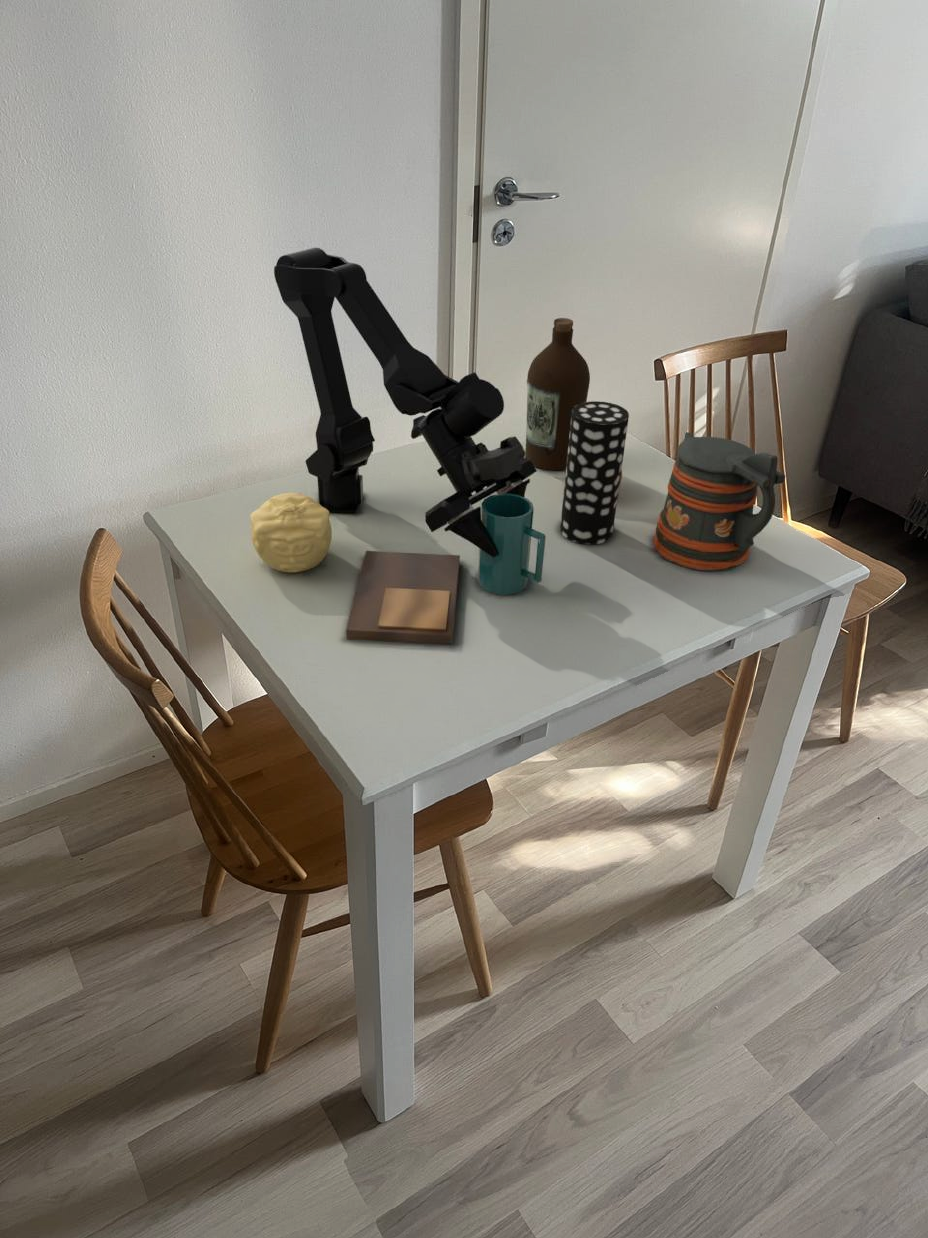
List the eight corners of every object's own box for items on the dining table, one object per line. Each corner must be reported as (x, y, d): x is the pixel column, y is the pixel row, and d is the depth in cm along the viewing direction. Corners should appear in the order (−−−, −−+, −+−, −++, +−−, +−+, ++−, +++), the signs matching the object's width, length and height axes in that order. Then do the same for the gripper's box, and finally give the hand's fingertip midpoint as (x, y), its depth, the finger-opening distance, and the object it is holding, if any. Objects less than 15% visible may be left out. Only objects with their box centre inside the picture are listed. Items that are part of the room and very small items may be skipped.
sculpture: (254, 585, 138) (246, 519, 131) (256, 541, 147) (249, 478, 141) (334, 580, 139) (331, 515, 133) (331, 537, 149) (328, 475, 142)
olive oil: (548, 440, 179) (559, 305, 165) (593, 459, 173) (609, 321, 159) (509, 457, 173) (518, 319, 158) (554, 478, 167) (567, 336, 152)
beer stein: (791, 568, 145) (824, 447, 134) (724, 598, 138) (753, 473, 127) (699, 515, 158) (722, 400, 146) (633, 540, 151) (651, 421, 139)
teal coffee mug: (468, 581, 140) (471, 506, 133) (498, 562, 144) (503, 488, 137) (524, 609, 135) (530, 532, 127) (553, 588, 139) (561, 512, 132)
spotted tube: (578, 549, 148) (592, 428, 136) (550, 524, 154) (561, 406, 142) (623, 537, 151) (640, 418, 140) (593, 513, 157) (607, 397, 146)
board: (346, 639, 128) (345, 628, 127) (366, 559, 144) (365, 548, 143) (451, 644, 128) (452, 633, 127) (459, 563, 144) (460, 553, 143)
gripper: (442, 446, 123) (505, 551, 124) (530, 403, 135) (588, 500, 135) (398, 481, 131) (457, 579, 132) (484, 438, 143) (538, 529, 144)
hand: (512, 545), depth 136 cm, fingers closed on teal coffee mug, 7 cm apart
